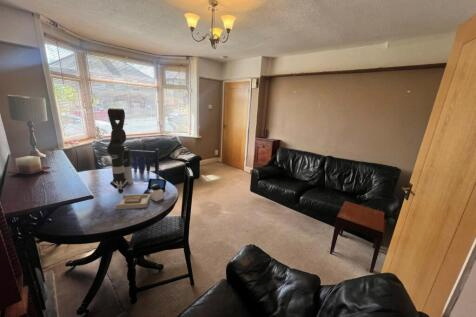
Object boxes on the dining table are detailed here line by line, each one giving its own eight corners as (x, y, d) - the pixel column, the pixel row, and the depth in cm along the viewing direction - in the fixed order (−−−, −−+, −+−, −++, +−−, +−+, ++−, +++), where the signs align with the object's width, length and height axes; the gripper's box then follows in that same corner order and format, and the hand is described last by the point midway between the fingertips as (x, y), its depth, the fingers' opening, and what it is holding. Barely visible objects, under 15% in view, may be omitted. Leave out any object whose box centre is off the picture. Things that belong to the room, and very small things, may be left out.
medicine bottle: (163, 198, 165) (162, 184, 162) (156, 201, 159) (155, 187, 156) (157, 196, 168) (156, 182, 165) (150, 199, 162) (149, 185, 159)
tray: (123, 198, 161) (123, 194, 160) (150, 197, 166) (150, 193, 165) (115, 209, 145) (115, 205, 144) (146, 207, 150) (146, 203, 149)
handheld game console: (143, 194, 171) (142, 184, 168) (149, 187, 184) (149, 178, 181) (161, 194, 171) (161, 184, 169) (166, 188, 184) (166, 179, 182)
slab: (127, 196, 157) (141, 196, 159) (127, 200, 158) (141, 199, 160) (124, 201, 149) (138, 200, 152) (124, 205, 150) (139, 204, 152)
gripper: (129, 169, 152) (131, 190, 156) (110, 170, 149) (112, 191, 153) (127, 173, 145) (129, 194, 149) (106, 173, 142) (109, 195, 146)
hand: (120, 193), depth 151 cm, fingers closed
